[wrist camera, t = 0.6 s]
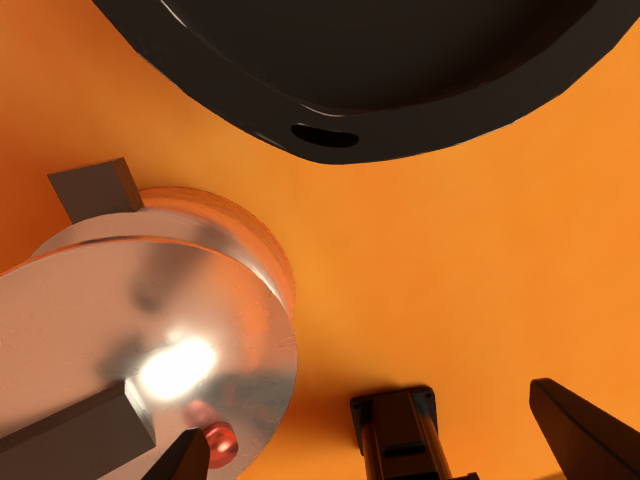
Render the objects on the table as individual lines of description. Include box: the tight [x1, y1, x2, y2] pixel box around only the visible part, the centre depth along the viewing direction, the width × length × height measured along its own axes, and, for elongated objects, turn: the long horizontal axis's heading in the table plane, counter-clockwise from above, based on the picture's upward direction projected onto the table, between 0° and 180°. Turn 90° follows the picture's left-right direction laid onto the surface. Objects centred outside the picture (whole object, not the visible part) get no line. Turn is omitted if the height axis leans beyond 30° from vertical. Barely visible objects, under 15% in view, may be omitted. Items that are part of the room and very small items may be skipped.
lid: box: [0, 235, 298, 480], centre depth 14 cm, size 14×15×2 cm
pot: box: [29, 157, 295, 324], centre depth 20 cm, size 18×14×5 cm
